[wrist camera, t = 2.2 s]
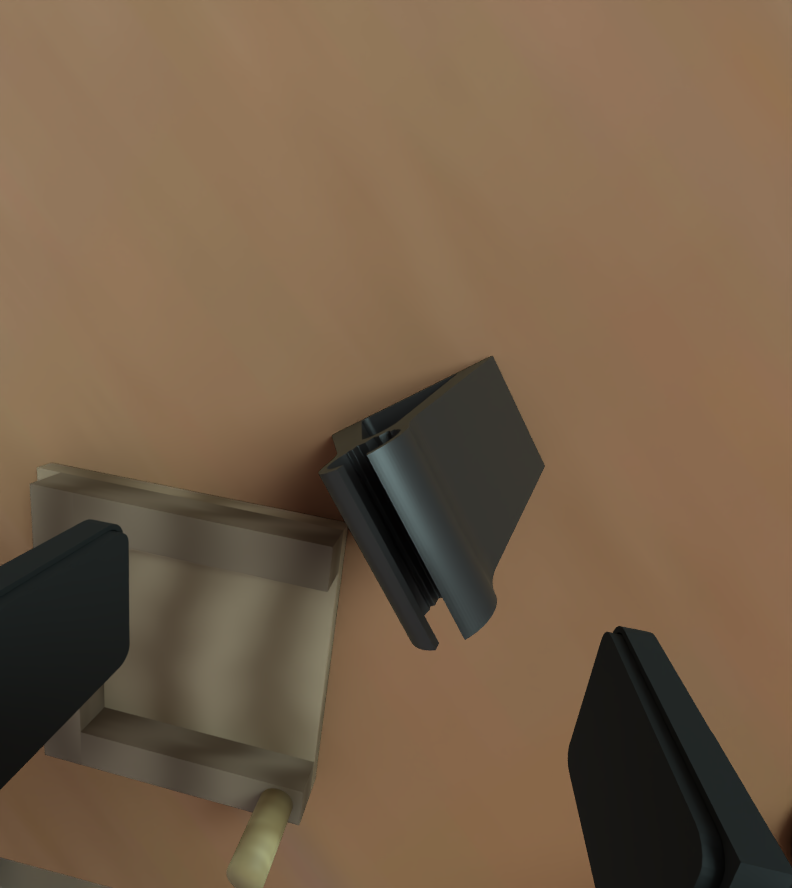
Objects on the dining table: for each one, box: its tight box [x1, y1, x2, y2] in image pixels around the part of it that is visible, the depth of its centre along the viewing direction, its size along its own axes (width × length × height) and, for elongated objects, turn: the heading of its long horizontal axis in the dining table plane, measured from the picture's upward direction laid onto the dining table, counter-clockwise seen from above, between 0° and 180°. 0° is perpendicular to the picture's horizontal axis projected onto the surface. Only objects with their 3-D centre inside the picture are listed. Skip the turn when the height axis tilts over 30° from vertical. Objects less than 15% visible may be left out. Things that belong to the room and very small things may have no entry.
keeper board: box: [30, 463, 348, 888], centre depth 27 cm, size 18×18×7 cm
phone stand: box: [319, 356, 545, 650], centre depth 19 cm, size 9×6×12 cm, turn 117°
